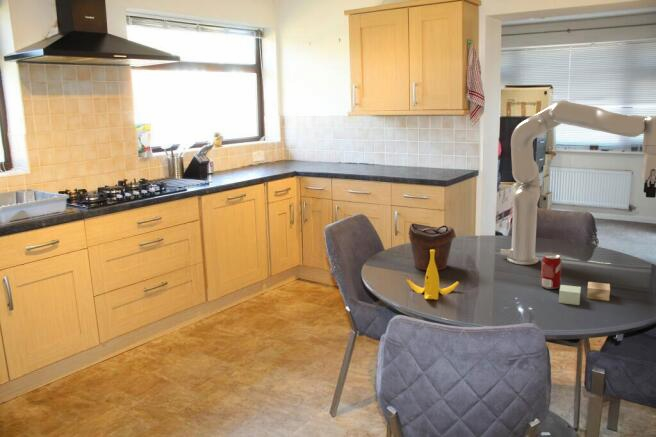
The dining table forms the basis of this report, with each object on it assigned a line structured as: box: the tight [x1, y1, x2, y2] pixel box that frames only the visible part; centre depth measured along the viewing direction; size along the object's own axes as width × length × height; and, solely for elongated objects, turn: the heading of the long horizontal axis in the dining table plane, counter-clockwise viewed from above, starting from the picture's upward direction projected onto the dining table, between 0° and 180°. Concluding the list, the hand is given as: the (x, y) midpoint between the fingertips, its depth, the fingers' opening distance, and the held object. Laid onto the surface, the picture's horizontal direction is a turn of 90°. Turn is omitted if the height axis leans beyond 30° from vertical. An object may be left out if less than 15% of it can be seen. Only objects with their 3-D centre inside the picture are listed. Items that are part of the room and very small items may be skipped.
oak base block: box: [586, 281, 611, 301], centre depth 206 cm, size 7×7×4 cm
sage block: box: [558, 284, 582, 306], centre depth 202 cm, size 6×6×4 cm
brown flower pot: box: [408, 222, 457, 271], centre depth 242 cm, size 18×20×18 cm
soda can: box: [540, 253, 563, 290], centre depth 215 cm, size 7×7×12 cm
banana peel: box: [406, 250, 460, 300], centre depth 211 cm, size 17×19×17 cm
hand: (649, 194), depth 222 cm, fingers open, 9 cm apart
